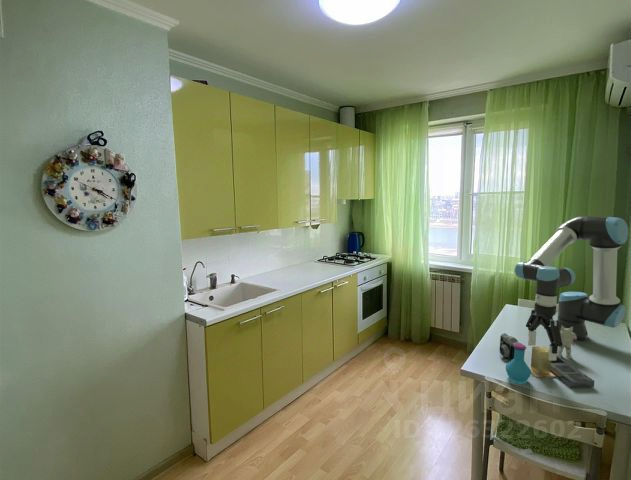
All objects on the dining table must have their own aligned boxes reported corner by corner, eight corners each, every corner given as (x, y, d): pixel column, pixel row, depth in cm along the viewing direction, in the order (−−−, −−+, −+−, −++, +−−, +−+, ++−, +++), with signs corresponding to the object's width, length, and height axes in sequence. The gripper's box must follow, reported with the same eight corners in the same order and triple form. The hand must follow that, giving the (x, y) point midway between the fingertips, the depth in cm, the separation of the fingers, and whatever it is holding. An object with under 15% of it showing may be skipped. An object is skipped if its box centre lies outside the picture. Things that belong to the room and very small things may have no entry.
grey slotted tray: (555, 360, 158) (556, 354, 158) (593, 388, 136) (594, 380, 136) (535, 360, 158) (536, 354, 158) (570, 388, 136) (571, 381, 136)
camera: (492, 349, 170) (493, 330, 169) (505, 349, 170) (507, 329, 169) (509, 364, 155) (510, 343, 154) (524, 364, 156) (525, 343, 154)
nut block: (542, 368, 151) (544, 346, 149) (549, 374, 146) (551, 351, 144) (530, 368, 151) (532, 346, 149) (537, 374, 146) (539, 352, 144)
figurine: (578, 358, 160) (581, 327, 158) (568, 362, 156) (571, 330, 154) (560, 351, 167) (562, 321, 165) (550, 355, 163) (552, 324, 161)
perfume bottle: (500, 374, 148) (502, 340, 145) (520, 373, 148) (523, 339, 146) (514, 386, 138) (516, 351, 136) (535, 385, 139) (538, 349, 137)
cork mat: (543, 367, 152) (543, 366, 152) (555, 377, 144) (555, 376, 144) (524, 367, 152) (525, 366, 152) (536, 377, 144) (536, 376, 144)
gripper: (519, 294, 156) (516, 339, 159) (556, 314, 132) (552, 367, 135) (535, 294, 156) (532, 339, 159) (576, 314, 131) (571, 367, 135)
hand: (541, 352), depth 147 cm, fingers open, 13 cm apart
